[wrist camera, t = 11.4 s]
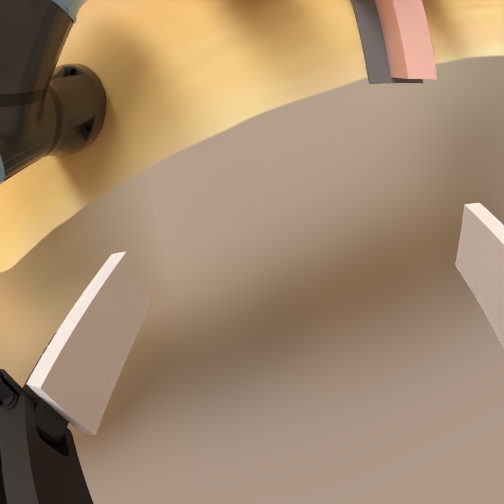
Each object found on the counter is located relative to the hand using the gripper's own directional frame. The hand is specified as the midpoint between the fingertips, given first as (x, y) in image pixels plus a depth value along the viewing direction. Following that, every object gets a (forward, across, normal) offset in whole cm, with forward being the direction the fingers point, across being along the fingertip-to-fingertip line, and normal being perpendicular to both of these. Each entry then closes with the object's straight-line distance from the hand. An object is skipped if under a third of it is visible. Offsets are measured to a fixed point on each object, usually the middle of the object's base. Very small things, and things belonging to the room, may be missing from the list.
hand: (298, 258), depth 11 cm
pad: (+32, +16, +12) cm, 37 cm away
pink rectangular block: (+31, +17, +12) cm, 37 cm away
